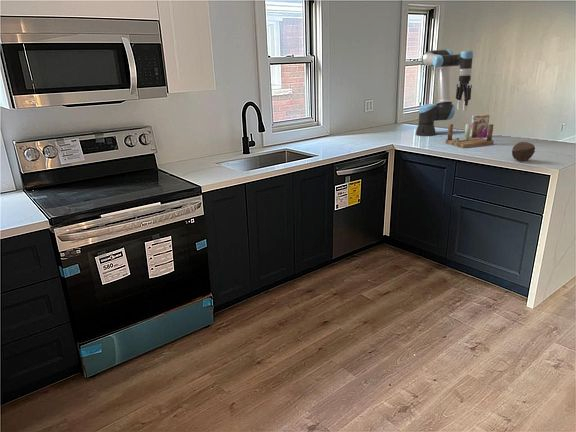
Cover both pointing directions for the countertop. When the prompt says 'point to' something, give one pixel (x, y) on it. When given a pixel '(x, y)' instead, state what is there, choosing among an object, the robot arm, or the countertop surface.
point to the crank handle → (467, 132)
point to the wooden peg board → (473, 140)
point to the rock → (523, 151)
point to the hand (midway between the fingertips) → (461, 109)
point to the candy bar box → (480, 125)
